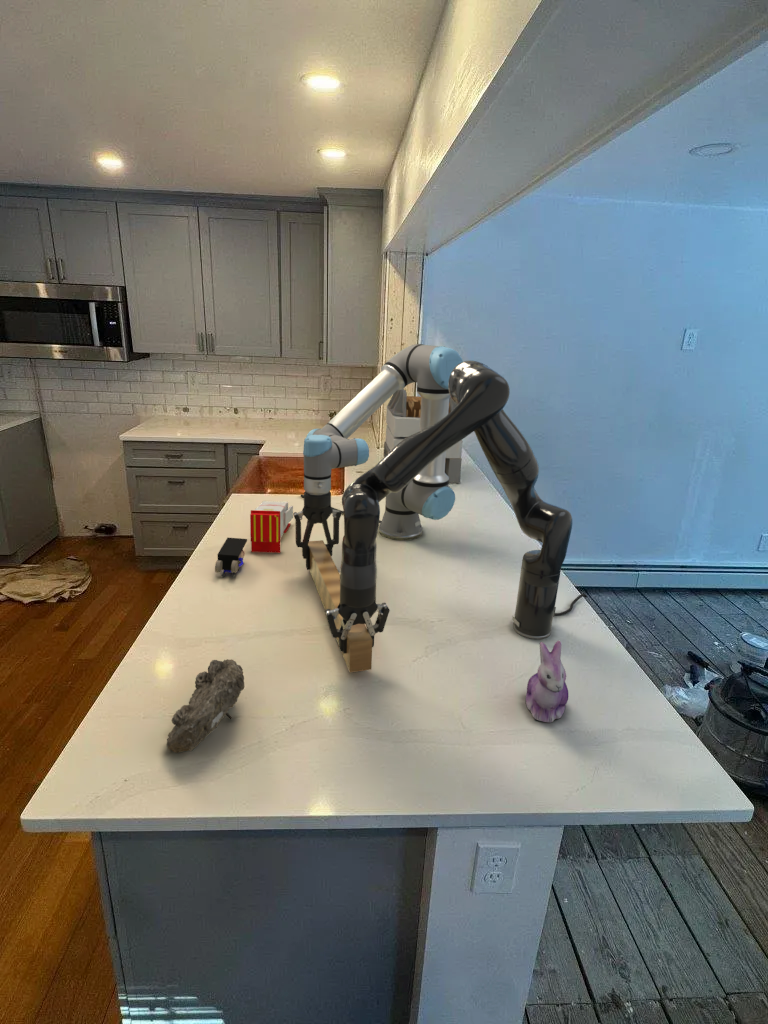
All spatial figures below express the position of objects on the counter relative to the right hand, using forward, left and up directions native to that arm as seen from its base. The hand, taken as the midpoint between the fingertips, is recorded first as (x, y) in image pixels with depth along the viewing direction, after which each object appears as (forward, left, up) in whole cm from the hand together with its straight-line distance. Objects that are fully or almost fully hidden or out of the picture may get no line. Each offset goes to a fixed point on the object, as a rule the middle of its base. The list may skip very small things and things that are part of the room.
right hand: (356, 649), depth 123 cm
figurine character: (-7, -60, -5) cm, 60 cm away
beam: (-12, -20, -3) cm, 23 cm away
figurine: (-18, +36, -5) cm, 41 cm away
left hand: (-23, -41, -2) cm, 47 cm away
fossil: (+31, -7, -5) cm, 32 cm away
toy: (-31, -73, -5) cm, 80 cm away
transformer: (-132, -92, -5) cm, 161 cm away
